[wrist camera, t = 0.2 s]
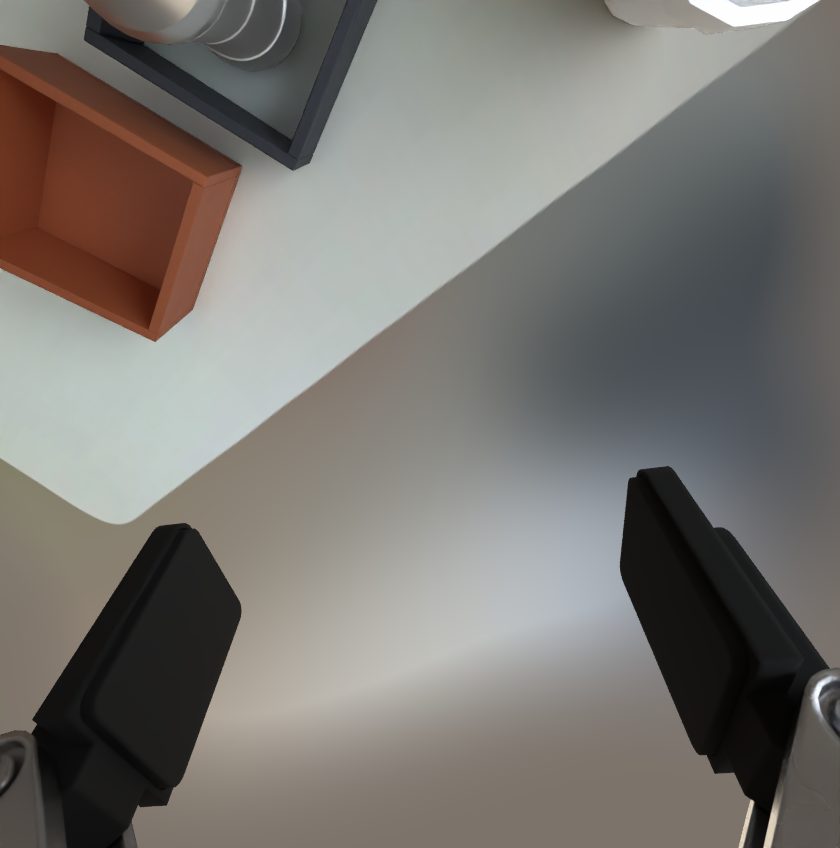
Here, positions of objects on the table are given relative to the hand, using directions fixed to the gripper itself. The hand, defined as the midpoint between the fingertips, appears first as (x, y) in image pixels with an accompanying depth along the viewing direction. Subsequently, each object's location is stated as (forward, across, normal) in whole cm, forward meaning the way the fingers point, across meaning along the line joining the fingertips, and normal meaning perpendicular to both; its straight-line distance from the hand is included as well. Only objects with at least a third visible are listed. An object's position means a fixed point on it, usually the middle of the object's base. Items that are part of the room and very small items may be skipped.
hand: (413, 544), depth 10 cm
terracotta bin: (+31, +21, -6) cm, 38 cm away
